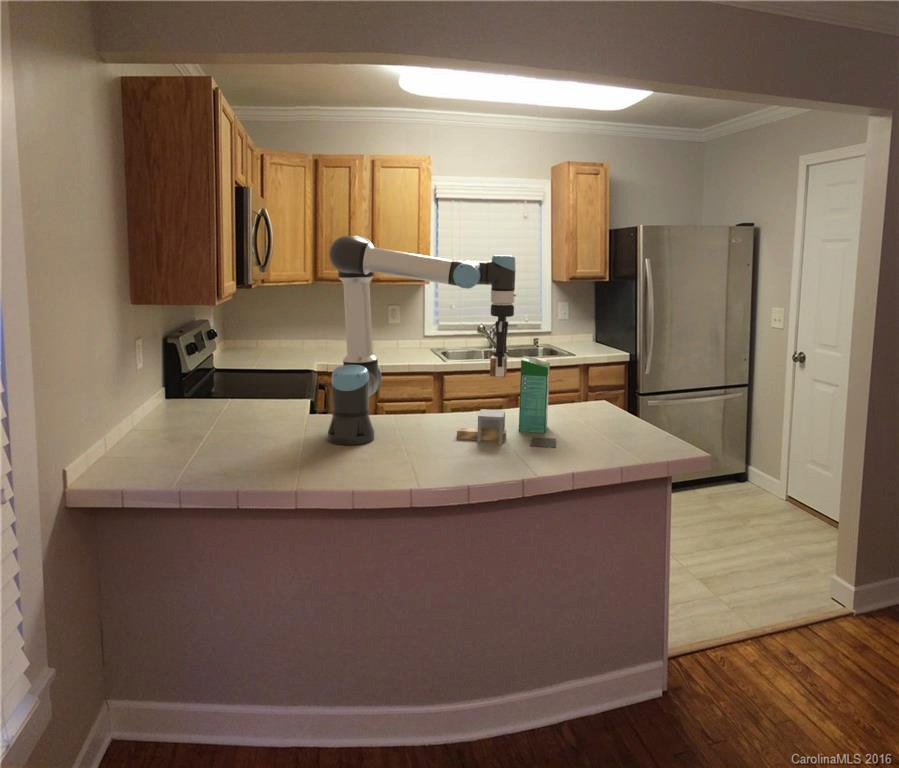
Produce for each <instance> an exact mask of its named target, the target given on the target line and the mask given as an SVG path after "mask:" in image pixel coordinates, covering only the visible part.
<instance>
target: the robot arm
mask: <svg viewBox="0 0 899 768" xmlns="http://www.w3.org/2000/svg"><path fill="white" fill-rule="evenodd" d="M328 259H329V261H330V263H331V265H332V267H334V268H335V269H336V270H337V277H338V280H340V281H341V282H342V284H343V300H344V301H343V303H344V318H345V319H344V321H345V336H346V337H345V338H346V353H347V354H346V355H345V357H344V358H343V359H342V364H343V365H342V366H340V365H339V366H338V367H336V368H335V369H333V370H332V373H331V379H330V380H331V381H330V383H331V399H332V400H331V401H332V403H331V406H332V416H331V421H330V423H329V427H328V429H327V441H328V442H330V443H332V444H336V445H342V446H343V445H344V446H356V445H364V444H368V443H370V442H372V441H374V440H375V430H374V427H373V425H372V421H371V417H370V415H369V414H370V412H369V409H370V408H369V401H370V400H369V398H370V397H371V396H373V395H374V394H375V393H376V392H377V391H378V390H379V388H380V386H381V384H382V372H381V369H380V368H379V363H378V357H377V356H376V355H375V354H374V351H373V330H372V311H371V310H372V307H371V306H372V305H371V290H370V287H371V286H370V283H371V281H372V280H373V278H374V277H375V274H382V275H387V276H393V277H394V276H395V277H400V278H405V279H413V280H419V281H426V282H430V283H431V282H433V283H437V284H444V285H449V286H455V287H459V288H461V289H472V288H474V287H475V286H477V285H479V286H480V285H482V286H483V285H486V286H489V285H491V286H490V287H491V289H490V303H492V304H491V305H490V315H491V317H497V320H496V321H495V335H496V338H495V339H496V340H495V353H494V354H493V356H494V357H496V376H500V377H499V378H505V377H504V359H505V357H504V356H507V354H508V353H509V350H507V342H508V341H507V340H508V339H507V336H508V335H507V334H508V332H509V330H508V328H509V321H508V320H507V318H509V317H510V318H511V317H513V316H514V315H515V305H514V303H515V297H517V293H515V288H516V287H515V286H516V272H517V271H516V258H515V256H513V255H509V254H494V255H492V257H491V260H486V261H484V260H468V259H466V260H453V259H448V258H442V257H435V256H430V255H424V254H419V253H418V254H417V253H409V252H404V251H399V250H398V251H397V250H392V249H386V248H379V247H375V246H374V244H373V243H372V242H371V240H369V239H368V238H366V237H364V236H362V235H356V234H354V235H344V236H340V237H338V238H337V239H335V240H334V241H333V242H332V244H331V245H330V247H329V251H328Z"/></svg>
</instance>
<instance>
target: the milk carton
mask: <svg viewBox="0 0 899 768" xmlns="http://www.w3.org/2000/svg"><path fill="white" fill-rule="evenodd" d="M550 366H551V363H550V362H548V361H547V359H544V358H541V357H536V358H534V357H530V356H528V355H525V354H524V355H523V356H522V358H521V359H520V384H519V385H520V386H519V411H518V412H519V415H518V416H519V417H518V432H521V431H522V432H524V433H539V434H540V433H541V434H545V433H546V431H547V428H548V415H549V414H548V413H549V412H548V411H549V391H550V368H551V367H550Z"/></svg>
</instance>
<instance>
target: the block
mask: <svg viewBox="0 0 899 768" xmlns="http://www.w3.org/2000/svg"><path fill="white" fill-rule="evenodd" d="M504 357H505V359H504V377H503V378H506V376H507V374H508V373H507V368H508V366H507V364H508V356H507V355H506V356H504ZM489 360H490V361H489V362H490V363H489V377H494V378H495V377H497V378H498V377H499V378H501V377H500V376H496V357H494V355H491V356H490V358H489Z"/></svg>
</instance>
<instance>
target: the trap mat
mask: <svg viewBox="0 0 899 768" xmlns="http://www.w3.org/2000/svg"><path fill="white" fill-rule="evenodd" d="M529 446H530V447H531V448H533V447H534V448H548V447H550V449H556V448H557V438H555V437H554V438H553V437H535V436H531V440H530V445H529Z"/></svg>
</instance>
